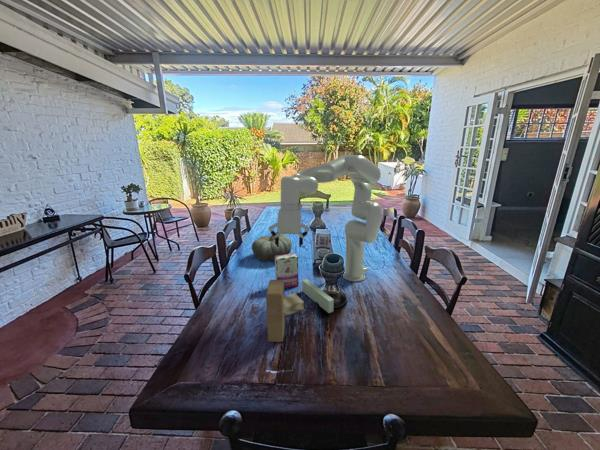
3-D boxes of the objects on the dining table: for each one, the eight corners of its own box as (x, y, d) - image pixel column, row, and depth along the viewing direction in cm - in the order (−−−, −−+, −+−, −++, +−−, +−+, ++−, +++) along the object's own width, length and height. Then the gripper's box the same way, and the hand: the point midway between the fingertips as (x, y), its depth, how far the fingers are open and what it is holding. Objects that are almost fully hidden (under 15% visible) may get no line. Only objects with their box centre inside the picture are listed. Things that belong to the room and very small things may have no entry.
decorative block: (271, 323, 113) (269, 279, 108) (285, 324, 113) (284, 279, 107) (267, 342, 103) (265, 294, 97) (282, 342, 102) (281, 294, 97)
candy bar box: (296, 281, 147) (296, 252, 143) (298, 286, 143) (298, 256, 138) (275, 284, 145) (274, 255, 140) (277, 289, 140) (276, 259, 135)
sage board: (306, 289, 139) (306, 278, 138) (333, 311, 121) (333, 299, 119) (302, 291, 138) (302, 280, 136) (328, 313, 120) (329, 301, 118)
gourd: (299, 258, 171) (293, 231, 167) (260, 271, 163) (253, 243, 159) (286, 248, 194) (281, 224, 190) (252, 259, 186) (245, 235, 182)
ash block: (294, 301, 129) (294, 293, 128) (303, 310, 123) (303, 301, 121) (277, 307, 125) (277, 298, 124) (285, 316, 118) (285, 307, 117)
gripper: (309, 205, 119) (308, 243, 124) (269, 204, 119) (269, 243, 123) (311, 209, 112) (309, 249, 116) (267, 208, 111) (268, 248, 116)
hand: (288, 246), depth 120 cm, fingers open, 9 cm apart
